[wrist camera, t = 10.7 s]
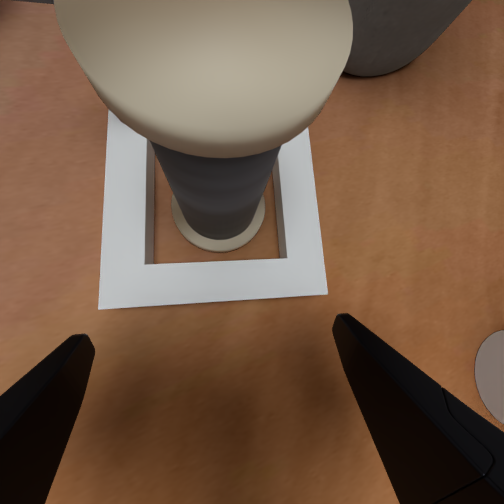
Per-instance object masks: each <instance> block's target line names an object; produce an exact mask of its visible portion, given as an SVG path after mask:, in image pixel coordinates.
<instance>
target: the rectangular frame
mask: <svg viewBox="0 0 504 504" xmlns="http://www.w3.org/2000/svg"><path fill="white" fill-rule="evenodd" d="M13 1H25V2H36V3H47V4H54V0H13ZM272 172H273V184H274V196H275V207H276V219H277V231H278V242H279V254H280V259H261V260H238V261H216V262H193V263H170V264H154V176H155V151H154V149H153V147H152V145H151V143H150V140H148V139H147V138H145V137H143V136H141V135H140V134H138V133H136V132H135V131H133V130H132V129H131V128H129V127H128V126H127V125H125V124H124V123H123V122H121V121H120V120H119V119H118V118H117V117H116V116H115V115H114V114H113V113H112V112H111V111H110V110H109V112H108V132H107V151H106V170H105V190H104V209H103V228H102V248H101V267H100V286H99V306H98V309H113V308H128V307H143V306H159V305H174V304H189V303H204V302H219V301H234V300H249V299H264V298H279V297H294V296H310V295H325V294H328V291H327V282H326V274H325V266H324V257H323V249H322V240H321V232H320V224H319V215H318V207H317V199H316V190H315V182H314V174H313V165H312V157H311V149H310V140H309V132H308V127H307V128H306V129H305V130H304V131H303V132H302V133H301V134H299V135H298V136H296V137H295V138H293V139H292V140H290V141H289V142H287V143H285V144H283V145H282V146H281V149H280V151H279V154H278V156H277V159H276V161H275V164H274V167H273V169H272Z"/></svg>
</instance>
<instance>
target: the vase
mask: <svg viewBox="0 0 504 504" xmlns="http://www.w3.org/2000/svg"><path fill="white" fill-rule="evenodd" d="M348 1H349V5H350V9H351V14H352V21H353V40H352V45H351V50H350V54H349V57H348V60H347V63H346V65H345V68H344V69H343V71H344V72H346V73H349V74H352V75H357V76H377V75H383V74H387V73H390V72H392V71H395V70H397V69H399V68H401V67H403V66H405V65H406V64H408V63H410V62H411V61H412V60H414V59H415V58H417V57H418V56H419V55H420V54H422V53H423V52H424V51H425V50H426V49H427V48H428V47H429V46H430V45H431V44H432V43H433V42H434V41H435V40H436V39H437V38H438V37H439V36H440V35H441V34H442V33H443V32H444V31H445V29H446V28H447V27H448V26H449V25H450V24H451V23H452V22H453V21H454V20H455V18H456V17H457V16H458V15H459V14H460V13H461V12H462V11H463V10H464V9H465V7H466V6H467V5H468V4H469V3H470V2H471V1H472V0H348Z"/></svg>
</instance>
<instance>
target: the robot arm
mask: <svg viewBox="0 0 504 504" xmlns="http://www.w3.org/2000/svg"><path fill="white" fill-rule="evenodd" d="M332 332H333V336H334V339H335V343H336V346H337V349H338V352H339V356H340V359H341V362H342V365H343V368H344V371H345V374H346V377H347V379H348V381H349V384H350V386H351V389H352V391H353V393H354V396H355V398H356V400H357V403H358V405H359V408H360V410H361V412H362V415H363V417H364V420H365V422H366V424H367V427H368V429H369V431H370V434H371V436H372V439H373V441H374V443H375V446H376V448H377V451H378V453H379V455H380V458H381V460H382V462H383V465H384V467H385V470H386V472H387V474H388V477H389V479H390V481H391V484H392V486H393V489H394V491H395V493H396V496H397V498H398V501H399V503H400V504H504V432H503V431H501V430H500V429H498V428H497V427H496V426H494V425H493V424H491V423H490V422H489V421H487V420H486V419H484V418H483V417H482V416H480V415H479V414H477V413H476V412H475V411H473V410H472V409H471V408H469V407H468V406H467V405H465V404H464V403H463V402H461V401H460V400H459V399H457V398H456V397H455V396H454V395H452V394H451V393H450V392H448V391H447V390H446V389H445V388H443V387H442V388H441V385H439V384H438V383H437V382H436V381H434V380H433V379H432V378H430V377H429V376H428V375H427V374H425V373H424V372H423V371H421V370H420V369H419V368H418V367H416V366H415V365H414V364H413V363H411V362H410V361H409V360H407V359H406V358H405V357H404V356H402V355H401V354H400V353H398V352H397V351H396V350H395V349H393V348H392V347H391V346H390V345H388V344H387V343H386V342H384V341H383V340H382V339H381V338H379V337H378V336H377V335H375V334H374V333H373V332H372V331H370V330H369V329H368V328H366V327H365V326H364V325H363V324H361V323H360V322H359V321H358V320H356V319H355V318H354V317H352V316H351V315H350V314H348V313H342V314H338V315H337V316H336V318H335V321H334V324H333V327H332ZM94 356H95V348H94V346H93V344H92V342H91V340H90V338H89V336H88V335H87V334H75V335H72V336H70V337H69V338H68V339H67V340H65V341H64V342H63V343H62V344H61V345H60V346H58V347H57V348H56V349H55V350H54V351H53V352H51V353H50V354H49V355H48V356H47V357H45V358H44V359H43V360H42V361H41V362H40V363H38V364H37V365H36V366H35V367H34V368H33V369H31V370H30V371H29V372H28V373H27V374H26V375H24V376H23V377H22V378H21V379H20V380H19V381H17V382H16V383H15V384H14V385H13V386H11V387H10V388H9V389H8V390H7V391H6V392H4V393H3V394H2V395H1V396H0V504H45V502H46V499H47V496H48V494H49V491H50V488H51V486H52V483H53V480H54V477H55V475H56V472H57V469H58V467H59V464H60V461H61V459H62V456H63V453H64V450H65V448H66V445H67V442H68V440H69V437H70V434H71V432H72V429H73V426H74V424H75V421H76V418H77V415H78V413H79V410H80V407H81V404H82V401H83V398H84V395H85V391H86V387H87V383H88V379H89V375H90V371H91V367H92V363H93V360H94Z"/></svg>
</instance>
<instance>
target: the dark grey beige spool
mask: <svg viewBox="0 0 504 504" xmlns="http://www.w3.org/2000/svg"><path fill="white" fill-rule="evenodd" d="M54 7H55V12H56V17H57V21H58V24H59V27H60V29H61V32H62V34H63V37H64V39H65V41H66V43H67V44H68V46H69V48H70V50H71V51H72V53H73V55H74V56H75V58H76V60H77V61H78V63H79V65H80V66H81V68H82V70H83V71H84V73H85V75H86V76H87V78H88V80H89V81H90V83H91V85H92V86H93V88H94V90H95V91H96V93H97V94H98V96H99V97H100V99H101V100H102V101H103V103H104V104H105V105H106V106H107V108H108V109H109V110H110V111H111V112H112V113H113V114H114V115H115V116H116V117H117V118H118V119H119V120H120V121H121V122H123V123H124V124H125V125H127V126H128V127H129V128H131V129H132V130H133V131H135V132H136V133H138V134H140V135H141V136H143V137H145V138H147V139H148V140H150V143H151V145H152V147H153V149H154V151H155V154H156V156H157V158H158V160H159V163H160V165H161V167H162V169H163V171H164V174H165V176H166V178H167V180H168V182H169V185H170V187H171V189H172V191H173V195H172V202H171V208H172V215H173V218H174V221H175V223H176V225H177V227H178V229H179V230H180V232H181V233H182V235H183V236H184V237H185V238H186V239H187V240H188V241H189V242H190V243H191V244H193V245H194V246H196V247H198V248H200V249H202V250H205V251H209V252H215V253H224V252H230V251H234V250H236V249H239V248H241V247H243V246H244V245H246V244H247V243H248V242H249V241H250V240H251V239H252V238H253V237H254V236H255V235H256V233H257V232H258V230H259V228H260V226H261V224H262V221H263V219H264V214H265V200H264V196H263V192H264V190H265V187H266V184H267V182H268V179H269V177H270V174H271V172H272V169H273V167H274V164H275V161H276V159H277V156H278V154H279V151H280V149H281V146H282V145H283V144H285V143H287V142H289V141H290V140H292V139H293V138H295V137H296V136H298V135H299V134H301V133H302V132H303V131H304V130H305V129H306V128H307V127H308V126H309V125H310V124H312V122H313V121H314V120H315V119H316V117H317V116H318V115H319V114H320V112H321V110H322V109H323V107H324V105H325V103H326V102H327V100H328V98H329V96H330V94H331V92H332V90H333V88H334V86H335V85H336V83H337V81H338V79H339V77H340V75H341V73H342V71H343V69H344V68H345V65H346V63H347V60H348V57H349V54H350V50H351V45H352V40H353V21H352V14H351V9H350V5H349V1H348V0H54Z"/></svg>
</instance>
